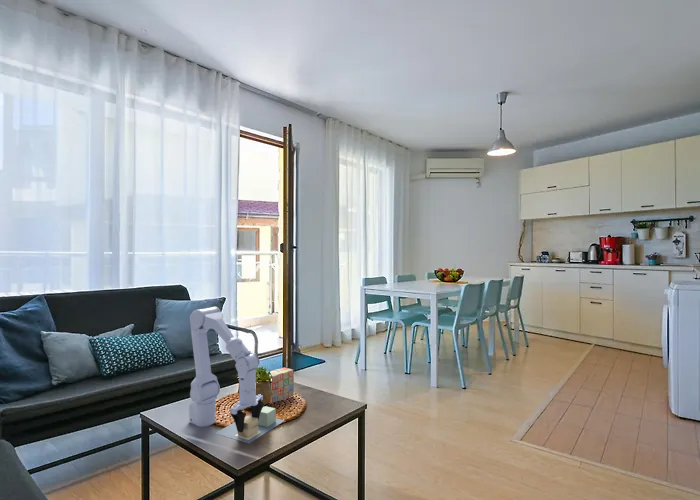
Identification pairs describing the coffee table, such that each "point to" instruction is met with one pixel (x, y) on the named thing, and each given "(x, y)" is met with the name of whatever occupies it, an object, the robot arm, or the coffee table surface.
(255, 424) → the maple block
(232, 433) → the board
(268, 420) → the sage block
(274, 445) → the coffee table surface
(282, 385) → the stack of blocks
